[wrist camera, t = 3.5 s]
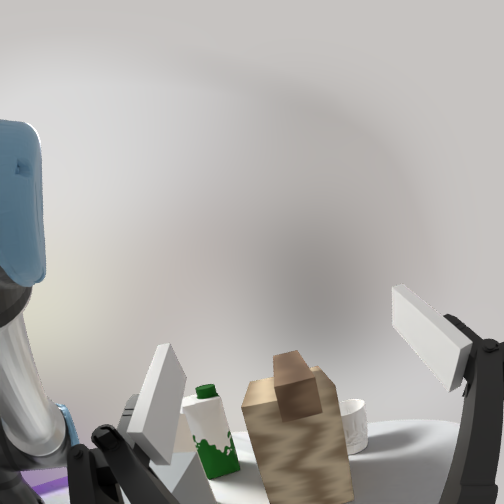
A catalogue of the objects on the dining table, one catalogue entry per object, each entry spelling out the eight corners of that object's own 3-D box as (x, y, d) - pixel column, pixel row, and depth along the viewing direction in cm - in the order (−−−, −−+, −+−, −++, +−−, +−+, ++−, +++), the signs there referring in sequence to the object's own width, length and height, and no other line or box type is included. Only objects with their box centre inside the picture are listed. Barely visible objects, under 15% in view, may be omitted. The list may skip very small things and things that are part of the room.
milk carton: (246, 470, 45) (221, 387, 49) (204, 482, 41) (175, 398, 45) (232, 456, 52) (210, 381, 57) (195, 466, 49) (170, 390, 53)
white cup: (365, 455, 39) (359, 413, 41) (327, 457, 43) (319, 417, 45) (374, 435, 45) (368, 396, 47) (340, 438, 49) (333, 401, 52)
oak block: (274, 518, 27) (241, 407, 32) (274, 475, 41) (249, 381, 45) (354, 499, 27) (335, 385, 31) (336, 461, 40) (317, 365, 45)
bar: (282, 422, 24) (273, 387, 25) (278, 378, 43) (273, 355, 44) (322, 412, 24) (315, 376, 24) (302, 372, 43) (297, 350, 44)
